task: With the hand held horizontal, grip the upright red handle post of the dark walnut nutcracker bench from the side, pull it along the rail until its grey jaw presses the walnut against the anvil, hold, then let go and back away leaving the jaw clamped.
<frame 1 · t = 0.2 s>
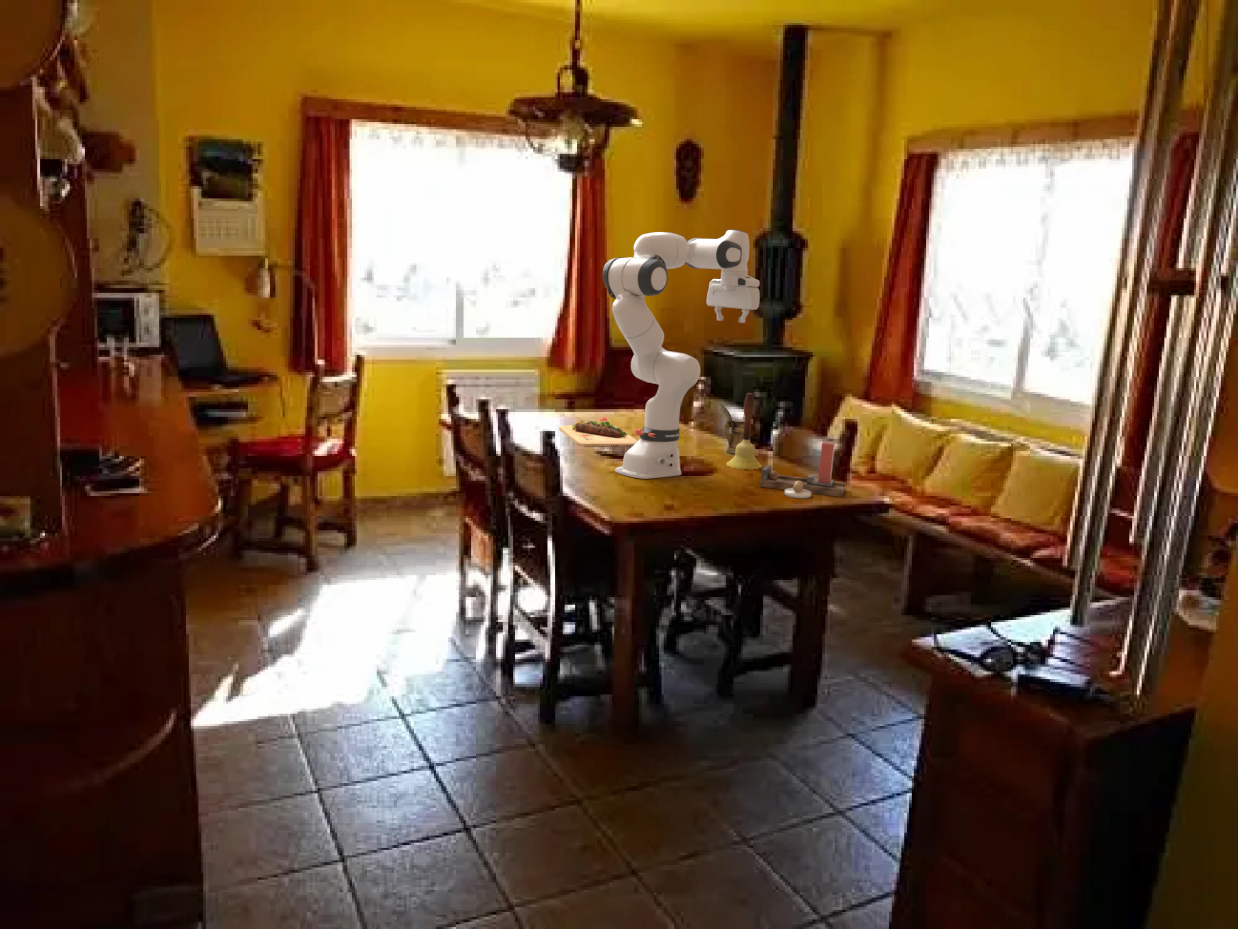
hand: (730, 321, 327), 48 cm above the table, tool pointing down, fingers open, 8 cm apart
nut dish: (797, 495, 293), on the table
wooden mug: (733, 453, 351), on the table
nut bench: (802, 488, 302), on the table
jaw slider: (822, 464, 299), point 8 cm above the table, slide at 0.0 cm
handbell: (744, 466, 330), on the table
cutting board: (598, 439, 368), on the table
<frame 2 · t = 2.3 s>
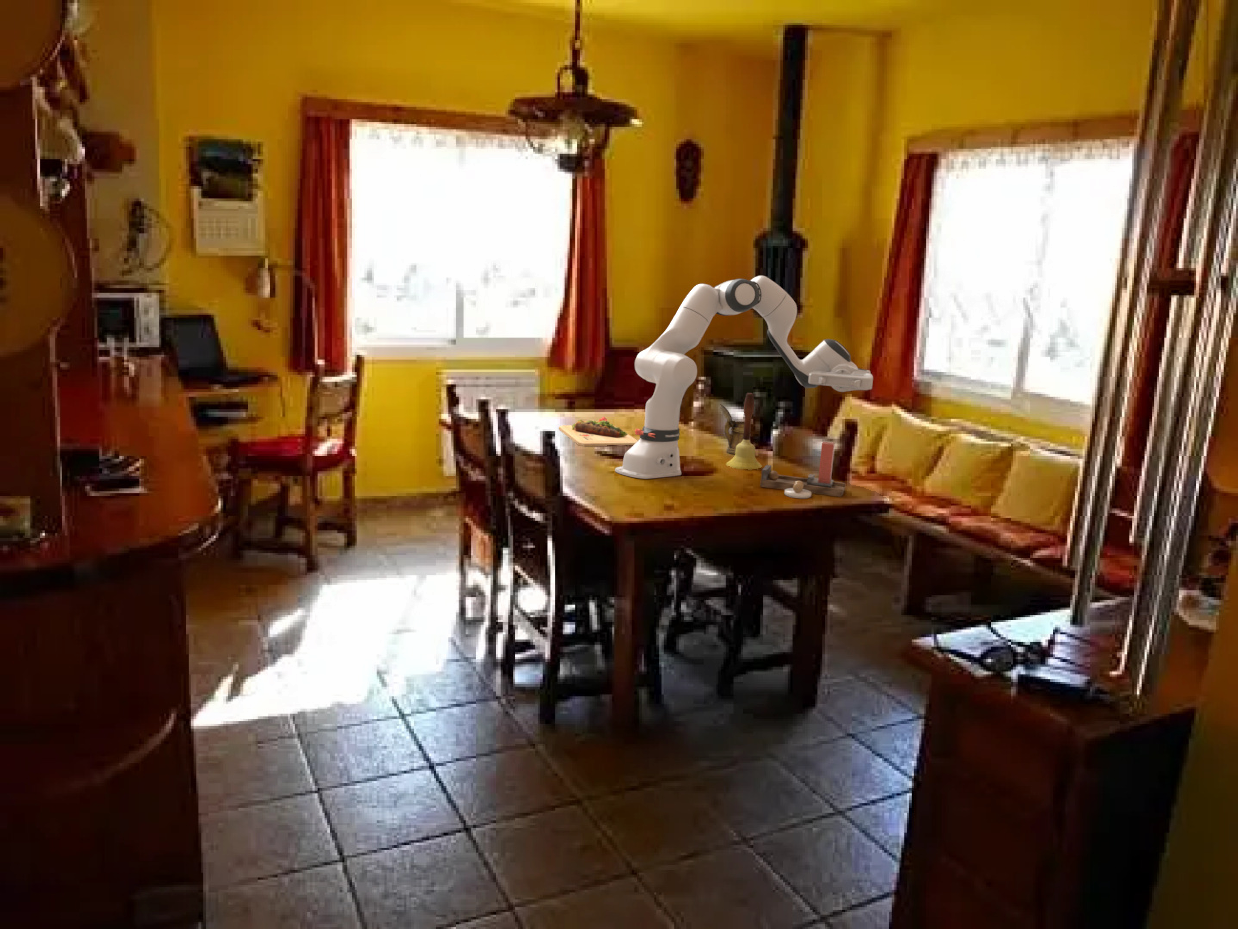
hand: (838, 382, 304), 32 cm above the table, tool horizontal, fingers open, 8 cm apart
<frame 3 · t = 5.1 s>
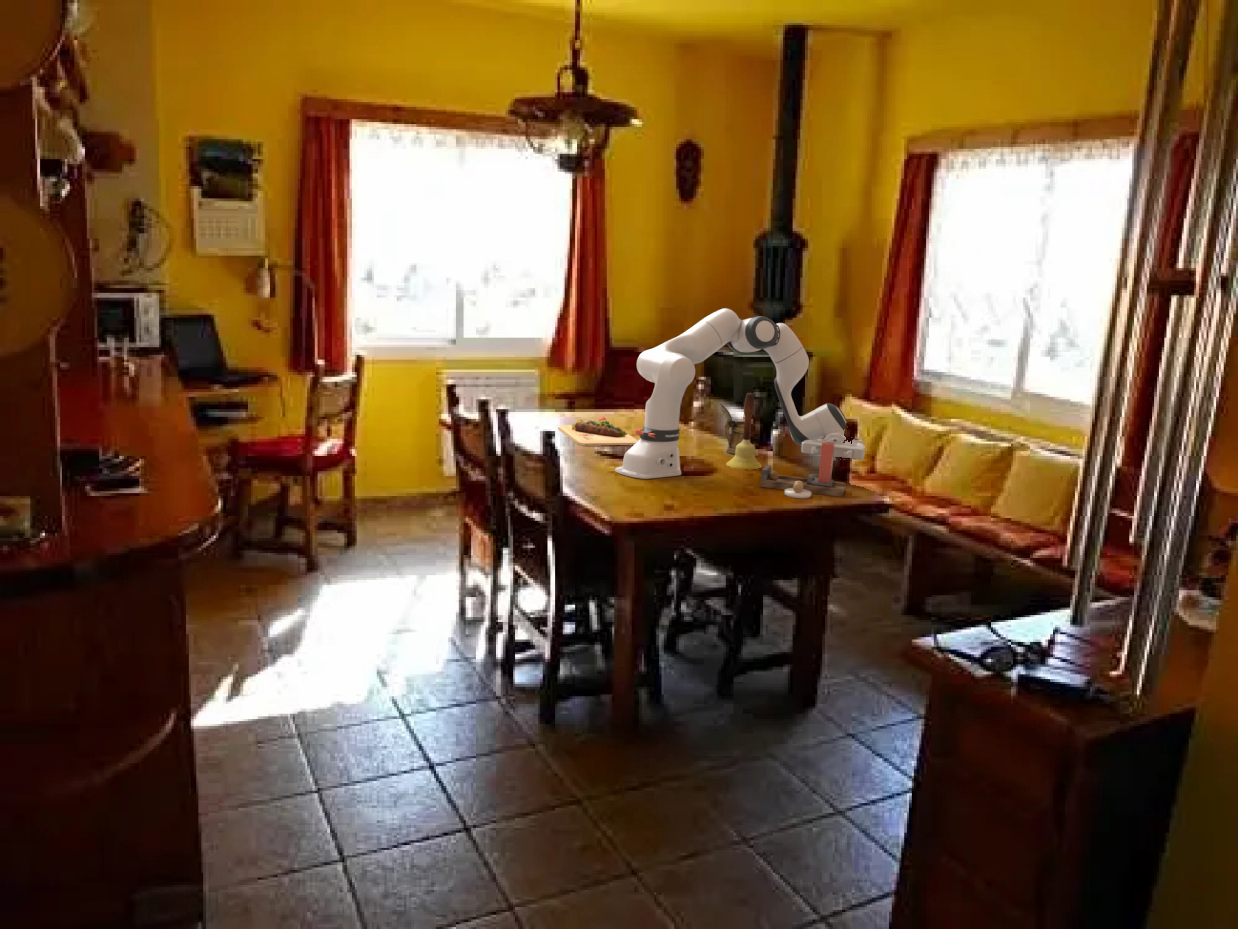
hand: (830, 453, 308), 10 cm above the table, tool horizontal, fingers open, 8 cm apart
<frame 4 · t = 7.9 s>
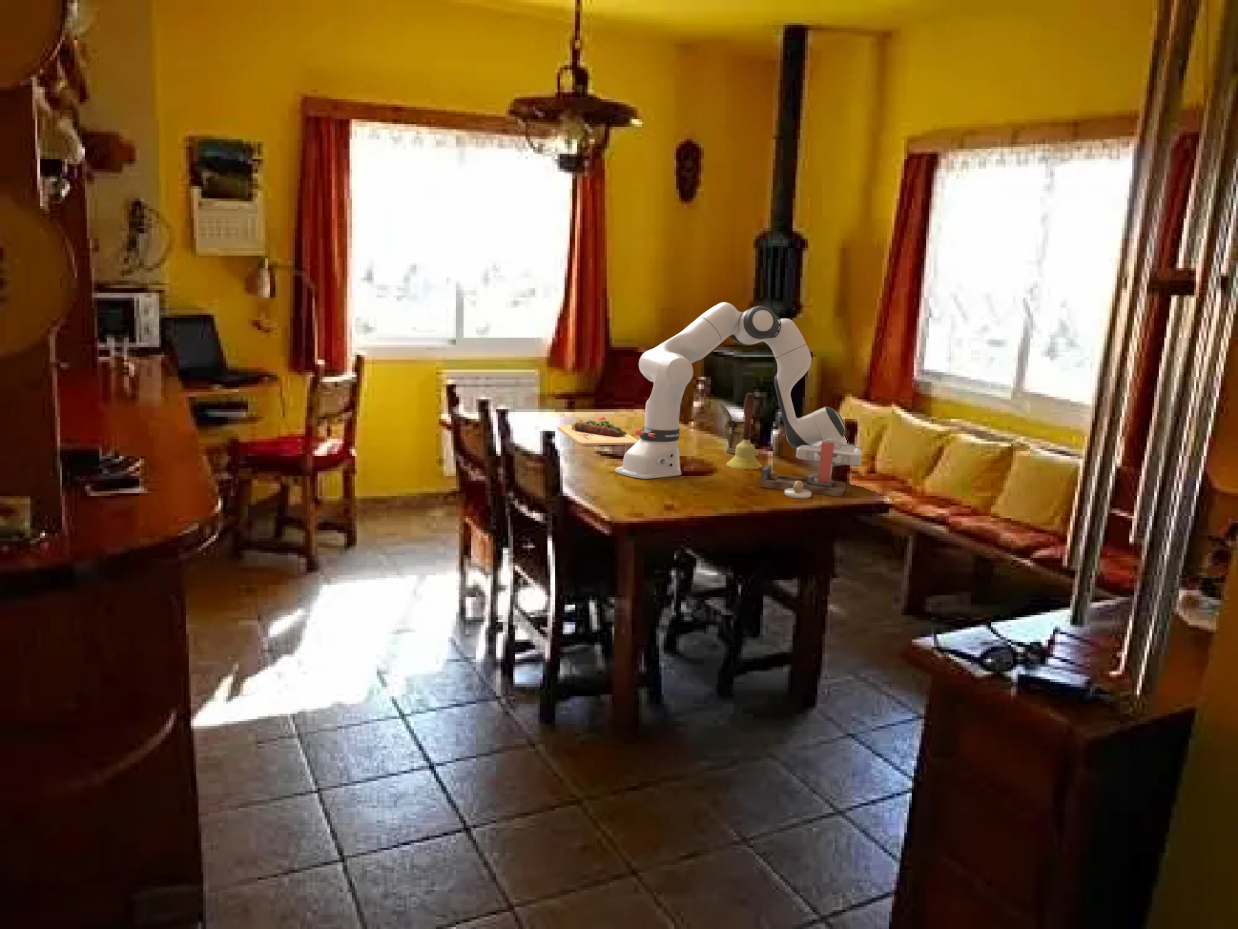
hand: (826, 459, 297), 10 cm above the table, tool horizontal, fingers closed on jaw slider, 3 cm apart
jaw slider: (821, 464, 299), point 8 cm above the table, slide at 0.1 cm, touching gripper
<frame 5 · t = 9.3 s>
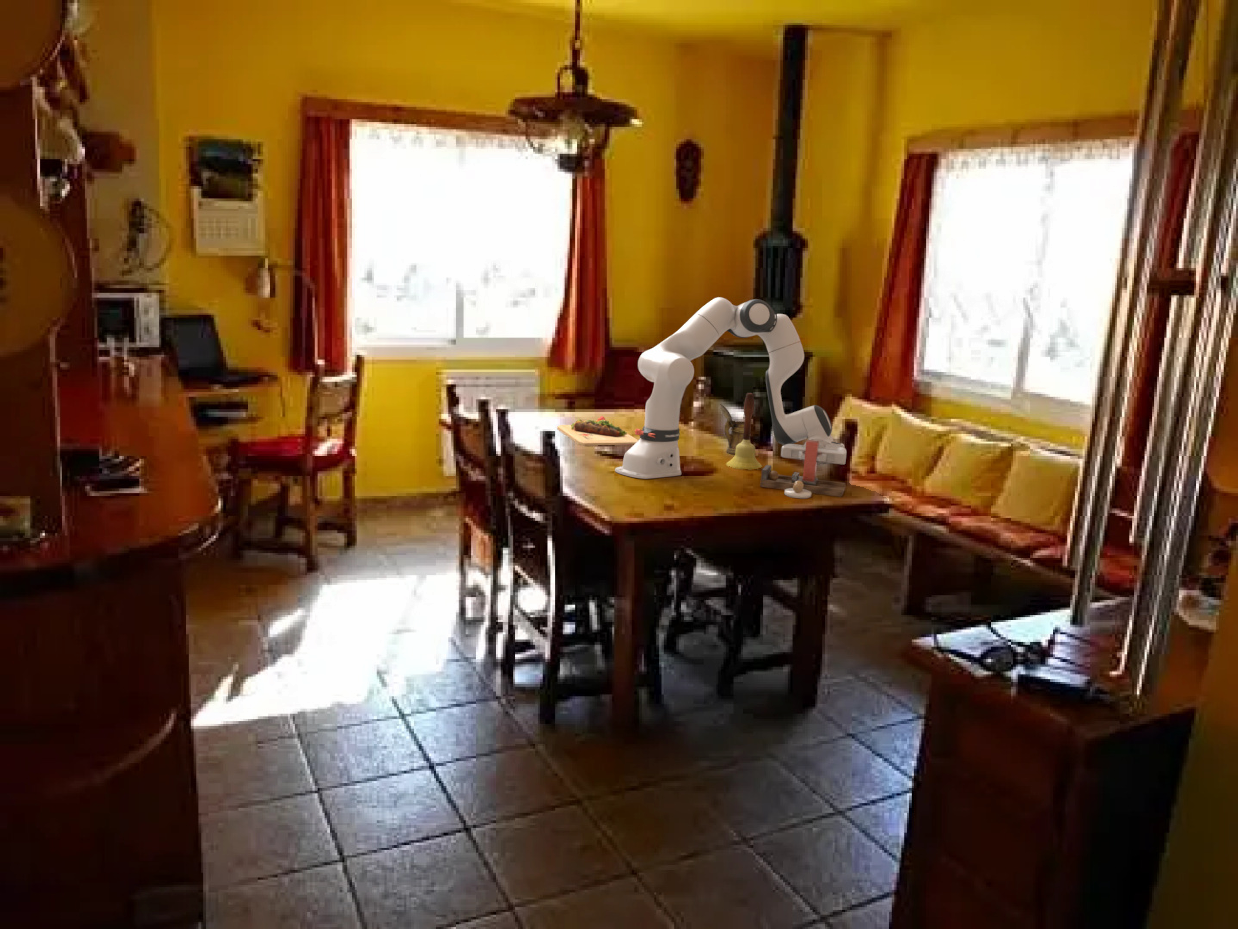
hand: (810, 458, 298), 10 cm above the table, tool horizontal, fingers closed on jaw slider, 3 cm apart
jaw slider: (806, 462, 300), point 8 cm above the table, slide at 4.8 cm, touching gripper
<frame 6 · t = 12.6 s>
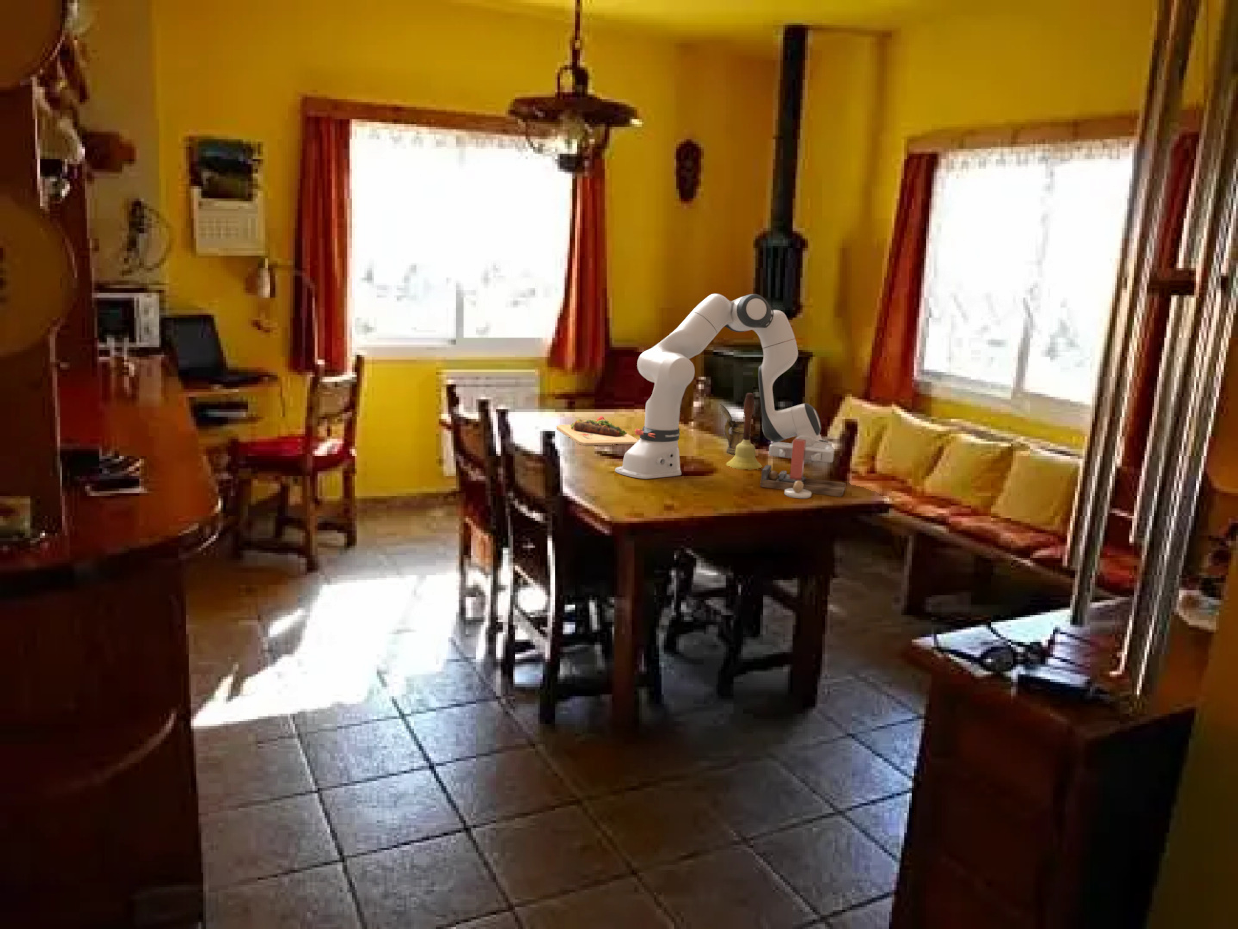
hand: (797, 456, 300), 10 cm above the table, tool horizontal, fingers open, 8 cm apart
jaw slider: (793, 460, 301), point 8 cm above the table, slide at 8.8 cm
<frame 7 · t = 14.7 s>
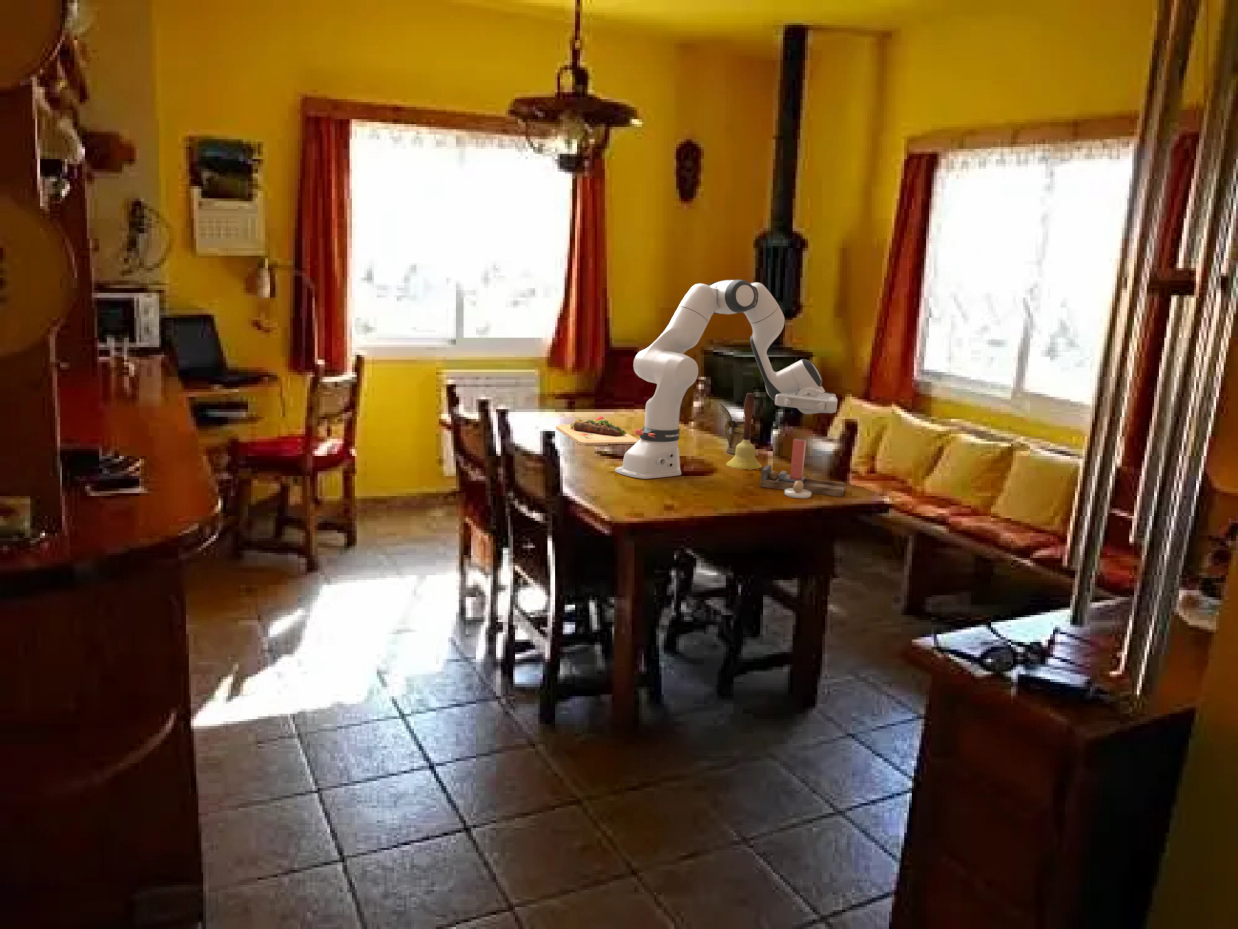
hand: (802, 405, 312), 24 cm above the table, tool horizontal, fingers open, 8 cm apart
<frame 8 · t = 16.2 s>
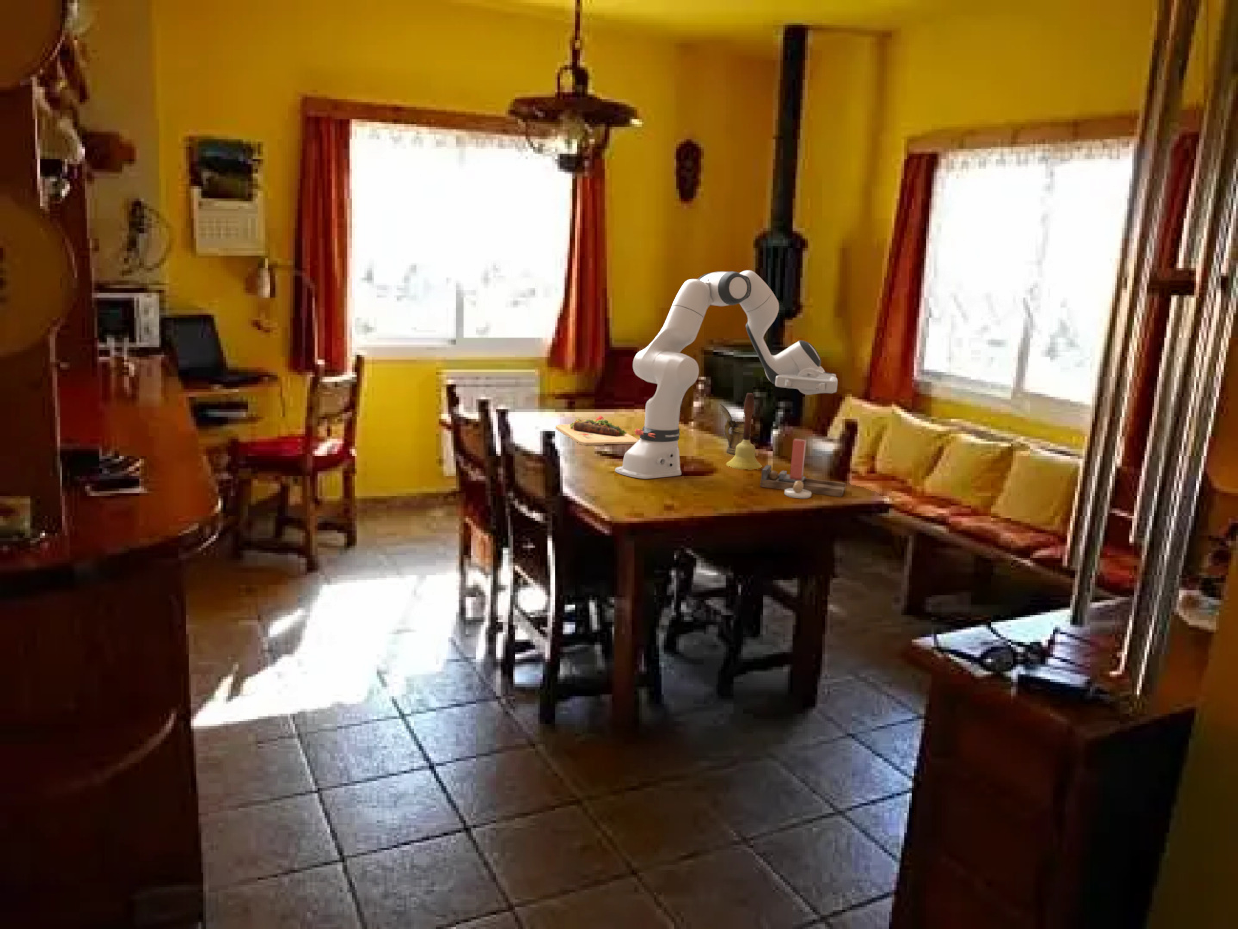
hand: (803, 385, 312), 30 cm above the table, tool horizontal, fingers open, 8 cm apart
at the end: jaw slider slide at 8.8 cm; the gripper is holding nothing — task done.
